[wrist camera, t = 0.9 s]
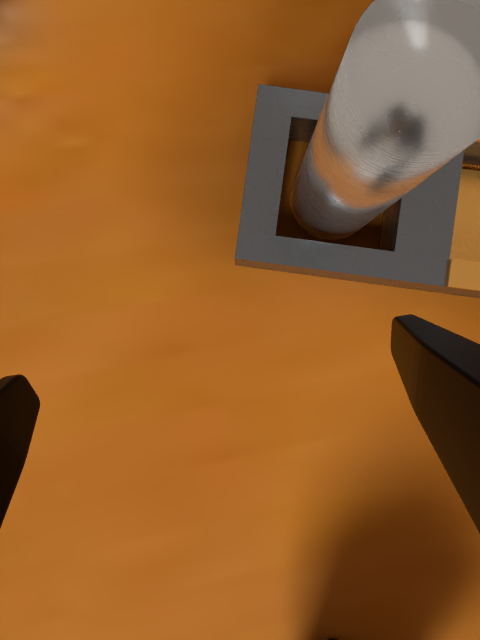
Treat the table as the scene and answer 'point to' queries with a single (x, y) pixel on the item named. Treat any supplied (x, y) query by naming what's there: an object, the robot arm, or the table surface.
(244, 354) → the table surface
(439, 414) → the robot arm
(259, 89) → the grey flat frame
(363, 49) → the steel peg
